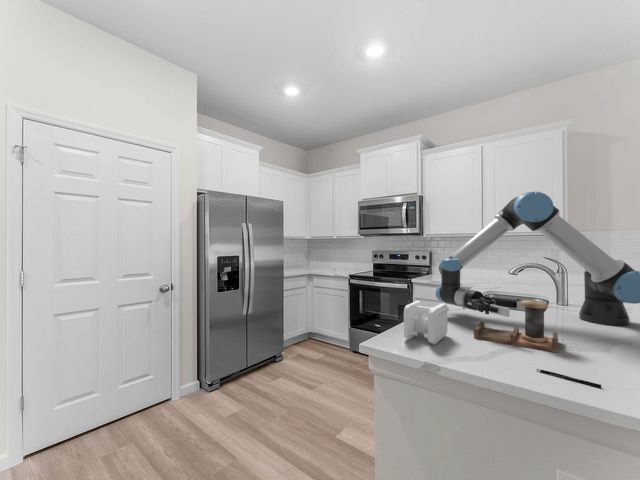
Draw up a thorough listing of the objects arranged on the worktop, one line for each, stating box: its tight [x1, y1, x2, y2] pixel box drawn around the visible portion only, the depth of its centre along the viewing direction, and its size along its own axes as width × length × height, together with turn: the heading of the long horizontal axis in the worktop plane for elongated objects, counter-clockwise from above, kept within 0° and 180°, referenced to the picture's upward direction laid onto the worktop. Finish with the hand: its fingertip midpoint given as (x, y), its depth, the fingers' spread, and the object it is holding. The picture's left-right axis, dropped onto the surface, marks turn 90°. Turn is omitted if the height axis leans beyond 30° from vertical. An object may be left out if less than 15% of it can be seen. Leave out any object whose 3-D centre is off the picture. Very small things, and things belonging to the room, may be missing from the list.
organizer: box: [403, 300, 450, 345], centre depth 104 cm, size 15×11×12 cm
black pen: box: [536, 368, 602, 390], centre depth 74 cm, size 12×1×1 cm, turn 42°
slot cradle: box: [473, 321, 559, 354], centre depth 102 cm, size 23×12×3 cm, turn 52°
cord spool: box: [521, 299, 549, 343], centre depth 99 cm, size 7×7×12 cm
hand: (522, 310), depth 102 cm, fingers open, 13 cm apart
